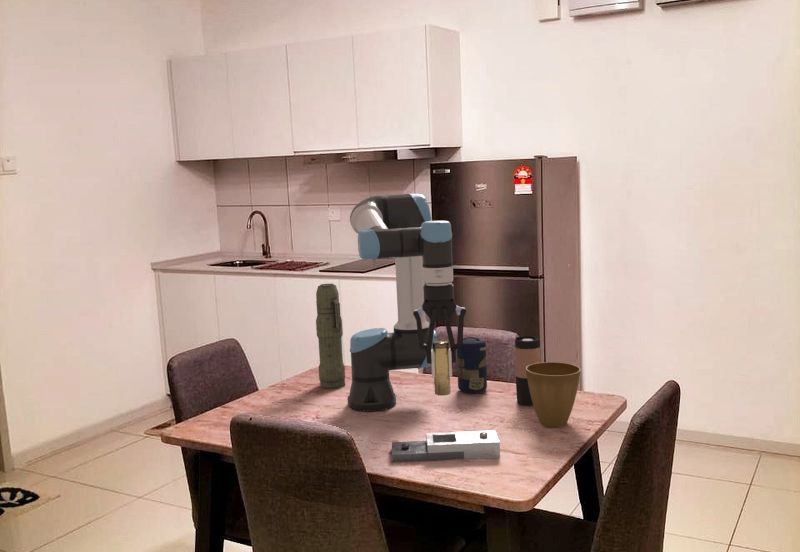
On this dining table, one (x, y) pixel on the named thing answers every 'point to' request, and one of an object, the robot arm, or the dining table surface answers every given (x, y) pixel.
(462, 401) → the dining table surface
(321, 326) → the thermos
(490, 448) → the door bolt
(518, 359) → the travel mug
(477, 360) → the canister
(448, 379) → the pin
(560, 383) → the plant pot
